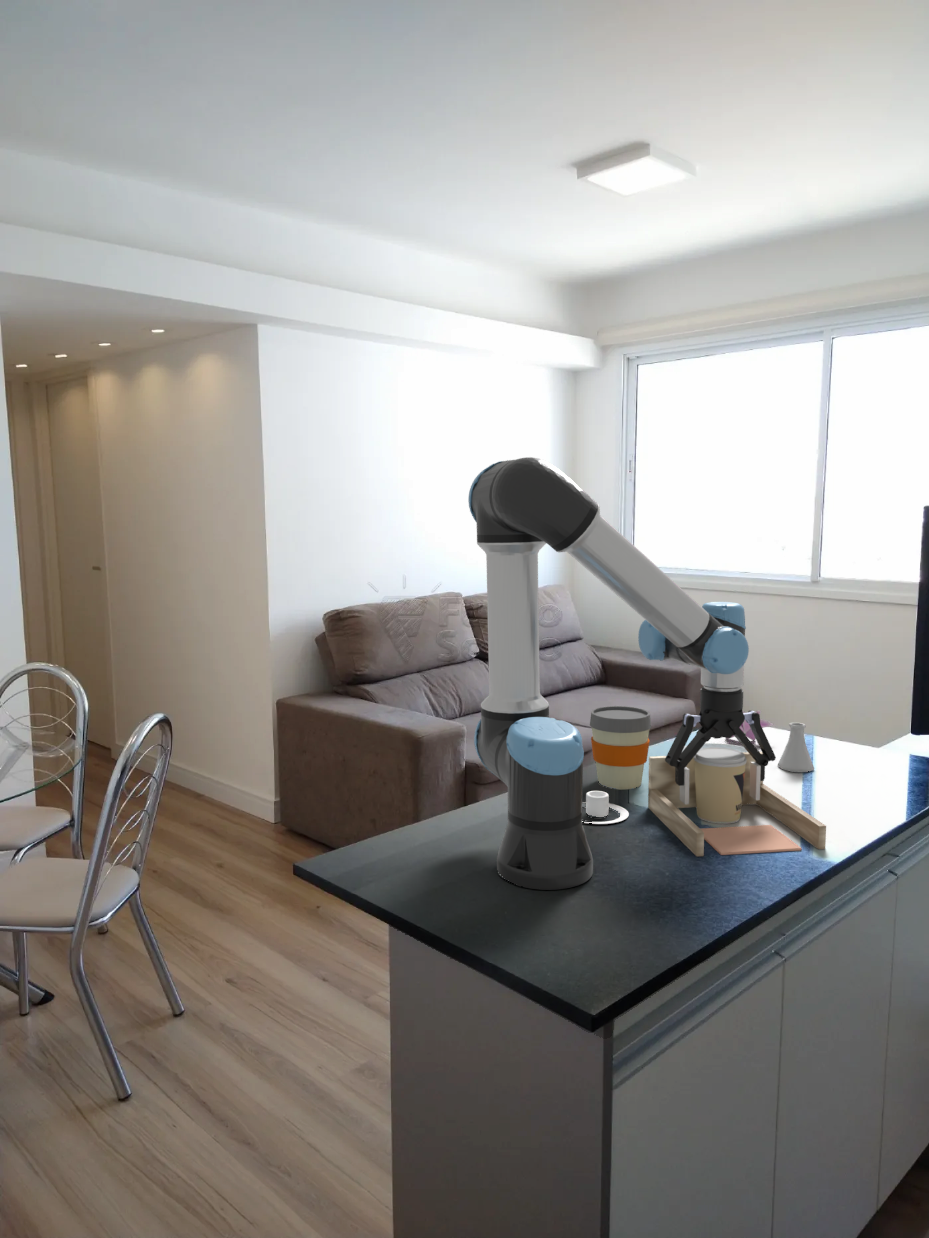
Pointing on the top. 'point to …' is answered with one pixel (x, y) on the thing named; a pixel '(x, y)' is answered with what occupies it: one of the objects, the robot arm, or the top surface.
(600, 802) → the candle holder
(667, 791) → the bay
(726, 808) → the coffee cup
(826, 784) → the top surface
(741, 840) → the front mat
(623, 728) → the reusable coffee cup
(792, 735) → the flask
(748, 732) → the lily
